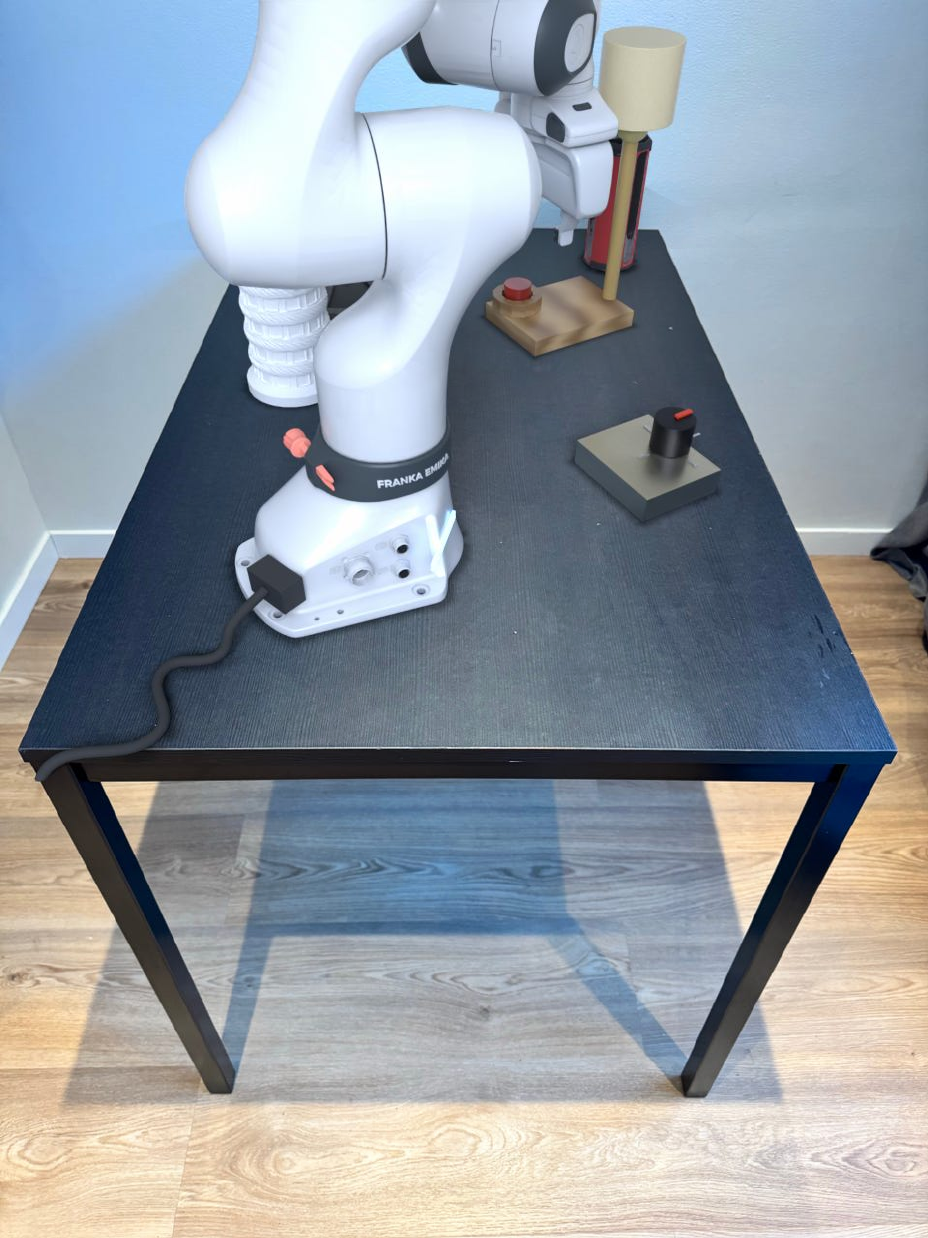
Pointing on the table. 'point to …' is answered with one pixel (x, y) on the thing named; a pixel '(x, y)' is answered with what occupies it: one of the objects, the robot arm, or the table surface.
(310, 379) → the decorative container
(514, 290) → the lamp switch
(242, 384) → the table surface
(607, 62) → the lamp
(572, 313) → the lamp base
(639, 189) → the speaker
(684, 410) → the dimmer knob
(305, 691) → the table surface
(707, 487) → the block
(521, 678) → the table surface
